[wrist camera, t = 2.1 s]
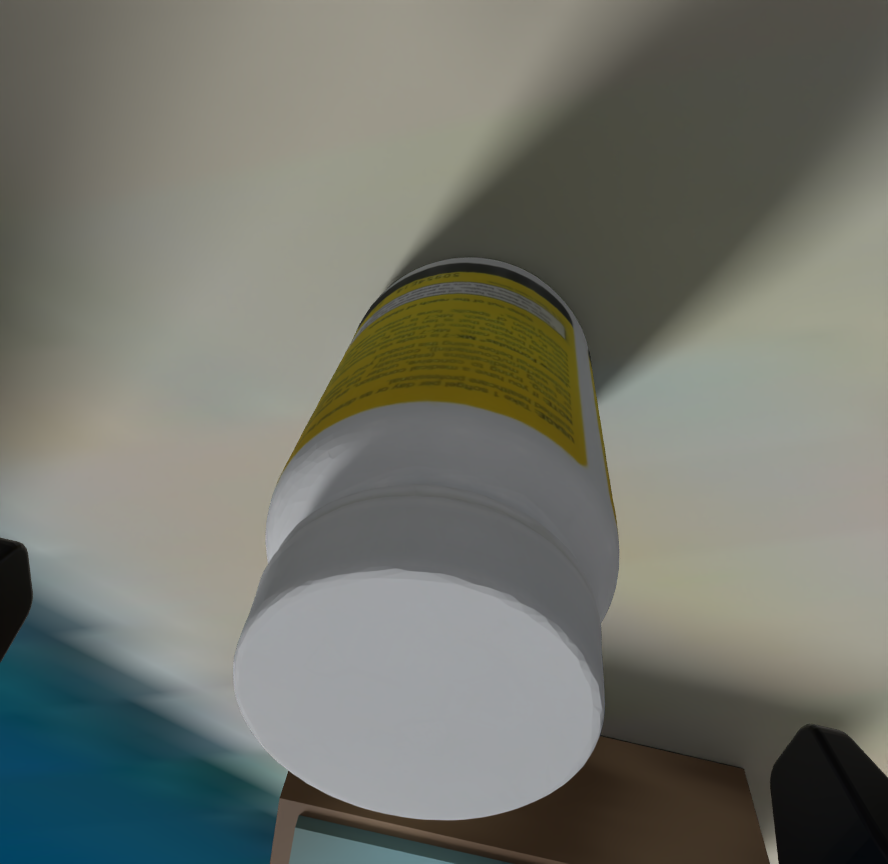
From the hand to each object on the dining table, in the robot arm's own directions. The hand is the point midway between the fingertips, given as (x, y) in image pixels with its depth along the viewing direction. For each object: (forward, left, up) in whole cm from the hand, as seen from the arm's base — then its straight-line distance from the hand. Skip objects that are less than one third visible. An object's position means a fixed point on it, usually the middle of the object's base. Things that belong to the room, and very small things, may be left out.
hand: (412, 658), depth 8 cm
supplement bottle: (0, 0, -8) cm, 8 cm away
